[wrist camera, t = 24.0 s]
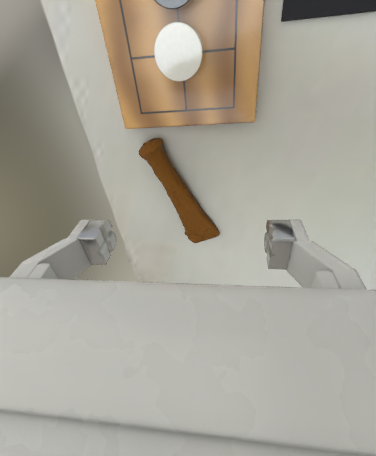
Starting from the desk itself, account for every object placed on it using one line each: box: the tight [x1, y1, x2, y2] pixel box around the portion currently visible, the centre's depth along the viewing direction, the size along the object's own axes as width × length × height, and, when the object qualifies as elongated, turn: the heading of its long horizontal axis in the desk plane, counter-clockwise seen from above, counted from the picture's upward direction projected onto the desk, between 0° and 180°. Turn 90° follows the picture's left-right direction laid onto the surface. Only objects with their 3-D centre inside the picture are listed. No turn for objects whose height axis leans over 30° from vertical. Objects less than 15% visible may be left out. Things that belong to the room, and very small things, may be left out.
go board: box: [95, 0, 264, 129], centre depth 25 cm, size 16×20×2 cm
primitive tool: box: [139, 138, 220, 243], centre depth 37 cm, size 19×6×4 cm, turn 28°
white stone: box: [154, 22, 204, 81], centre depth 24 cm, size 5×5×3 cm
